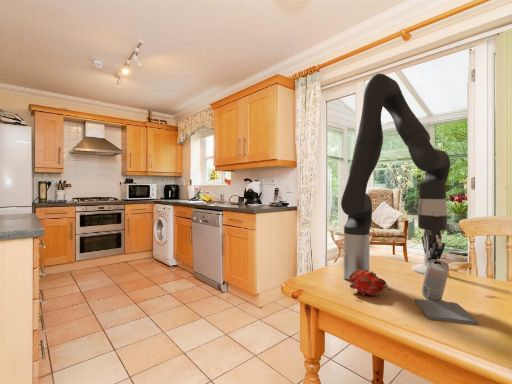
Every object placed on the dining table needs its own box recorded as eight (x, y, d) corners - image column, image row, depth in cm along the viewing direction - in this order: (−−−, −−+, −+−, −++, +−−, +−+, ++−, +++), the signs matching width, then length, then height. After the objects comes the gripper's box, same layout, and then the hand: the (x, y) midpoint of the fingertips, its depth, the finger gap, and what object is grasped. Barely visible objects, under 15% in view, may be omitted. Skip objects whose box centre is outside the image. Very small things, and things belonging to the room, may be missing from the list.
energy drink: (439, 290, 85) (446, 260, 80) (443, 303, 80) (452, 272, 75) (419, 287, 87) (425, 257, 82) (423, 300, 82) (430, 269, 77)
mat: (428, 319, 70) (428, 316, 70) (414, 301, 82) (414, 298, 82) (478, 324, 67) (478, 321, 67) (456, 305, 79) (456, 302, 79)
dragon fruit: (345, 294, 91) (384, 305, 87) (346, 287, 84) (388, 298, 80) (349, 271, 95) (386, 280, 91) (350, 261, 89) (390, 271, 84)
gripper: (412, 211, 91) (412, 263, 91) (426, 215, 78) (426, 275, 78) (437, 212, 89) (437, 265, 89) (456, 215, 76) (456, 277, 76)
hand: (432, 269), depth 84 cm, fingers closed
